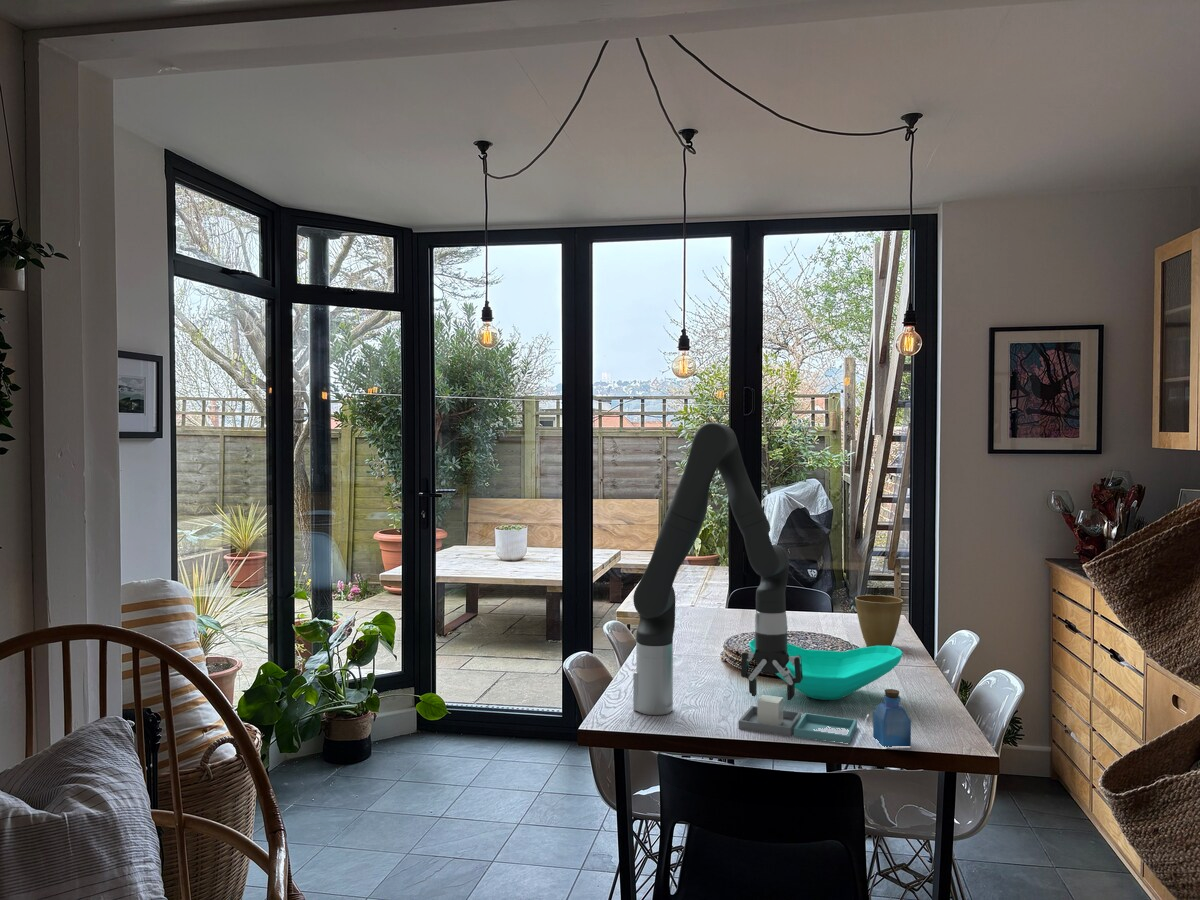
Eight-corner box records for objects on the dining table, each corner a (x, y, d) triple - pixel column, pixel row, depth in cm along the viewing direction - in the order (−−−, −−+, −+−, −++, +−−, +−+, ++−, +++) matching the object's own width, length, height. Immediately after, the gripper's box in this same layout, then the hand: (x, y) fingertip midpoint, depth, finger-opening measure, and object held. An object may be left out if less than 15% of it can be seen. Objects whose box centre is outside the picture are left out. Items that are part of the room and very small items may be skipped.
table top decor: (743, 706, 218) (743, 654, 217) (752, 676, 244) (752, 630, 244) (907, 719, 207) (908, 665, 207) (898, 687, 234) (898, 639, 234)
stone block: (757, 725, 201) (757, 700, 201) (762, 719, 206) (762, 694, 206) (778, 728, 199) (778, 703, 199) (783, 722, 204) (783, 697, 204)
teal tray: (794, 739, 194) (794, 728, 194) (804, 722, 205) (804, 712, 205) (849, 747, 189) (849, 736, 189) (856, 729, 200) (856, 719, 200)
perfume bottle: (899, 739, 194) (900, 686, 194) (910, 749, 188) (911, 695, 188) (873, 739, 194) (873, 687, 194) (883, 749, 188) (883, 695, 188)
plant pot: (909, 653, 271) (909, 603, 271) (862, 652, 271) (862, 602, 271) (894, 641, 286) (894, 594, 285) (849, 641, 286) (849, 594, 286)
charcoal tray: (738, 730, 200) (738, 720, 200) (751, 715, 211) (751, 705, 211) (790, 738, 195) (790, 728, 195) (801, 722, 206) (801, 712, 206)
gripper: (737, 630, 202) (738, 698, 202) (798, 635, 196) (798, 705, 196) (745, 624, 209) (746, 690, 209) (804, 628, 203) (805, 696, 203)
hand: (771, 697), depth 203 cm, fingers open, 8 cm apart
